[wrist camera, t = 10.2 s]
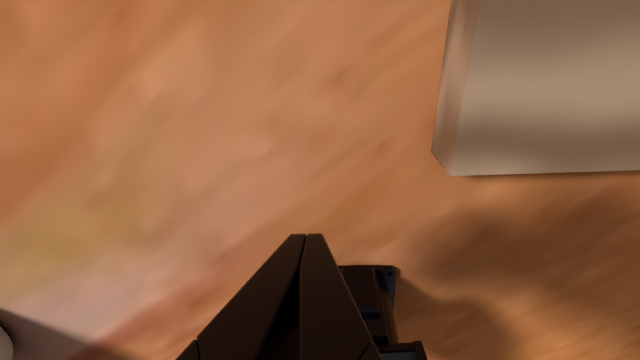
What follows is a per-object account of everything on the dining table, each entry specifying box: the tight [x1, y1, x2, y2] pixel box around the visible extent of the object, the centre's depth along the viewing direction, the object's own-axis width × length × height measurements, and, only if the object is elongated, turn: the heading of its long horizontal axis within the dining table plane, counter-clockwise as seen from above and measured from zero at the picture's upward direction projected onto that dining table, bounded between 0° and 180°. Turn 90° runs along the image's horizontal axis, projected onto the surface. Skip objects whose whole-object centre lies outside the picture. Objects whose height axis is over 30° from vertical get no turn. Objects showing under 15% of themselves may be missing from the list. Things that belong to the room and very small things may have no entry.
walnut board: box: [431, 0, 640, 176], centre depth 13 cm, size 16×14×4 cm
